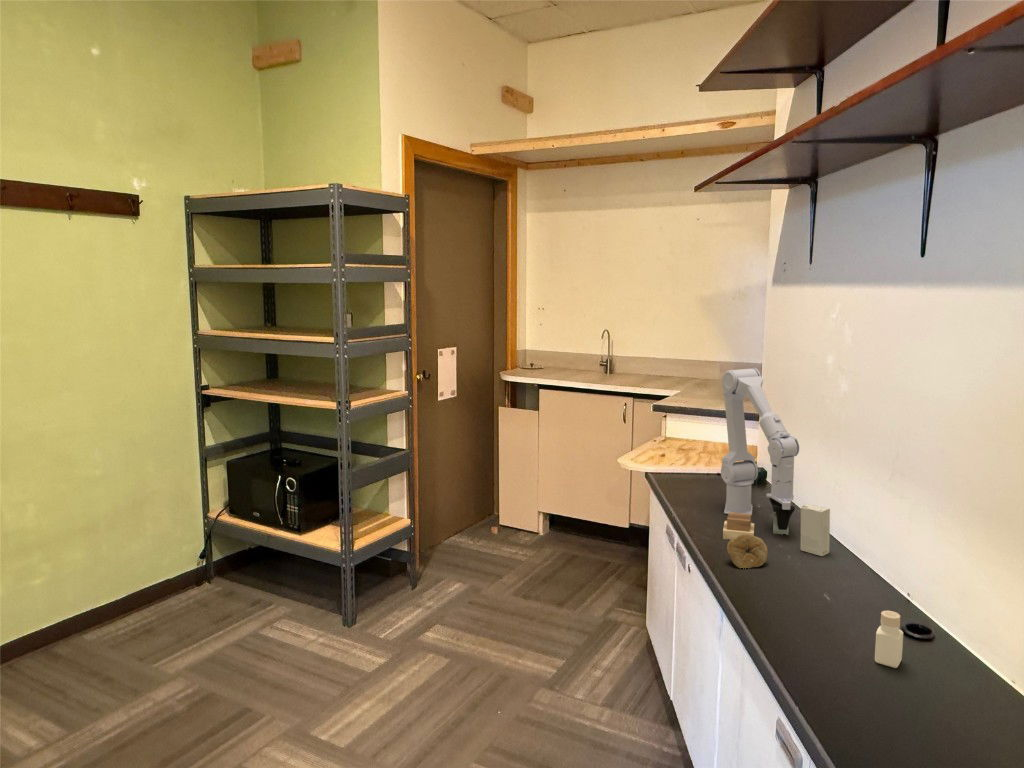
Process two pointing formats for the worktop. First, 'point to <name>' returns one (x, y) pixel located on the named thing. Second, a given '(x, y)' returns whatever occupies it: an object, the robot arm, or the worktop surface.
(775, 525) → the greenish gray cube
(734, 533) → the birch slab
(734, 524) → the walnut block
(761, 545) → the fossil
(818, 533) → the skincare box
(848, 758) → the worktop surface
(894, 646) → the cream bottle
